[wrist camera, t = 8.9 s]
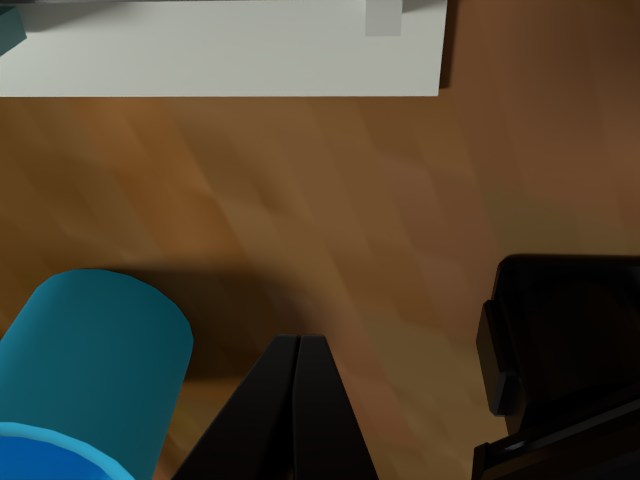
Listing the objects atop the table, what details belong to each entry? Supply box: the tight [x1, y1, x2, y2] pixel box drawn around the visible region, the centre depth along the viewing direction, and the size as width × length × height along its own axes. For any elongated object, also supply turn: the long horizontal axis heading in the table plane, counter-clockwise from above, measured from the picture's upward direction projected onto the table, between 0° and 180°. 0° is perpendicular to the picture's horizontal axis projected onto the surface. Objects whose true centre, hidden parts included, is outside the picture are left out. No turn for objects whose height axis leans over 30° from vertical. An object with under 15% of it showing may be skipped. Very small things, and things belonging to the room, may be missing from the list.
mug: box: [0, 269, 194, 480], centre depth 26 cm, size 12×8×8 cm
